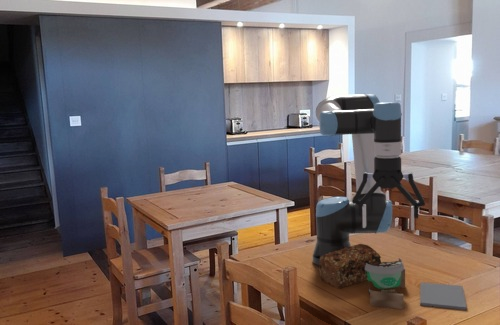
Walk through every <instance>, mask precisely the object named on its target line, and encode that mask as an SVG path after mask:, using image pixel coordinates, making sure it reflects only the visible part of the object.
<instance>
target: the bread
mask: <svg viewBox="0 0 500 325" xmlns="http://www.w3.org/2000/svg"><path fill="white" fill-rule="evenodd" d="M381 258H382V257H381V255H380V254H379V253H378V252H377V251H376V250H375V249H374V248H372V247H371V246H369V245H368V244H364V243H358V244H353V245H351V246H350V247H346V248H344V249H340V250H338V251H333V252H330V253H327V254H325V255H323V256H321V258H320V259H319V266H318V267H319V268H318V272H319V277H320V280H323V281H324V282H325V283H328V284H330V285H331V286H332V287H335V288H336V289H342V288H344V287H349V286H353V285H355V284H359V283H362V282H365V281H368V278H367V271H366V270H365V265H366V263H367V264H370V265H375V264H378V263H382V260H381Z"/></svg>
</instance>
